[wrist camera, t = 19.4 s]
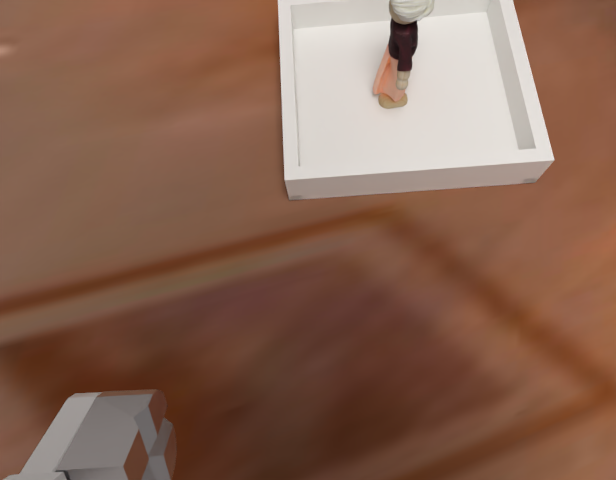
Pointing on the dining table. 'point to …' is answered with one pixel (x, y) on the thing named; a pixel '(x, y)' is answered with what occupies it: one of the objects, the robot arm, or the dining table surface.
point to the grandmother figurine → (400, 51)
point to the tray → (420, 106)
